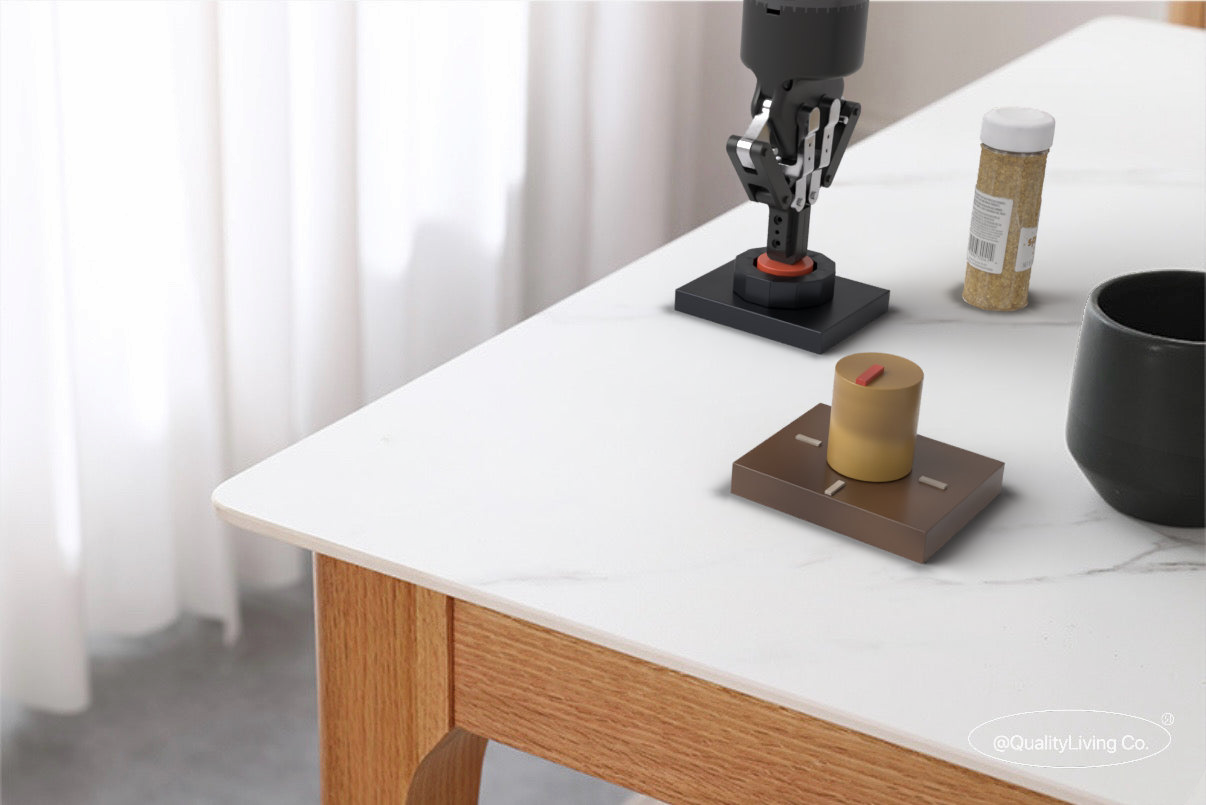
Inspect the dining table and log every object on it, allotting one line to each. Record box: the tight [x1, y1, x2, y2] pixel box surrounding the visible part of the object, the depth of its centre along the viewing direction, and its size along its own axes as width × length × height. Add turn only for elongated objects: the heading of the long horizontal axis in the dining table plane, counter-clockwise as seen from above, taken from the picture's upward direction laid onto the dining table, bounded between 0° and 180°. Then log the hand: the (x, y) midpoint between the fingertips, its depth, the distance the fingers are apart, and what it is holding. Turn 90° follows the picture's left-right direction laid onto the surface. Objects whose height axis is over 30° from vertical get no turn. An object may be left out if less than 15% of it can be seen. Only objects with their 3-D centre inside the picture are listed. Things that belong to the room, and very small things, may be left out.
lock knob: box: [827, 351, 925, 482], centre depth 79 cm, size 4×4×6 cm
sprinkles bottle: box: [961, 105, 1056, 312], centre depth 103 cm, size 5×5×13 cm
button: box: [757, 253, 813, 276], centre depth 102 cm, size 4×4×2 cm
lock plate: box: [730, 402, 1006, 565], centre depth 81 cm, size 11×9×3 cm
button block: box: [674, 246, 891, 355], centre depth 102 cm, size 11×9×4 cm
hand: (785, 259), depth 101 cm, fingers closed
